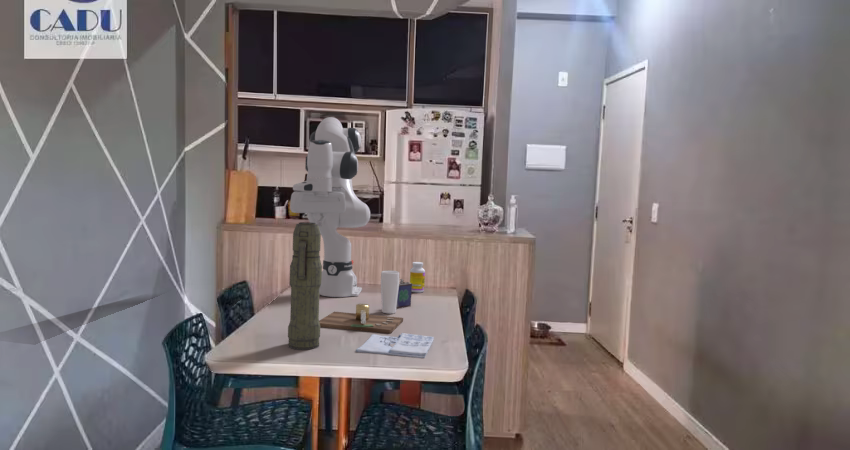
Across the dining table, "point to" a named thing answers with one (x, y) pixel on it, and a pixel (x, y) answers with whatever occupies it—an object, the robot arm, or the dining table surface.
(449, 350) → the dining table surface
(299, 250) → the thermos
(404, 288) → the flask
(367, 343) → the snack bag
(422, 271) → the supplement bottle
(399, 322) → the dial board
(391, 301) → the drinking glass
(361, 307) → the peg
